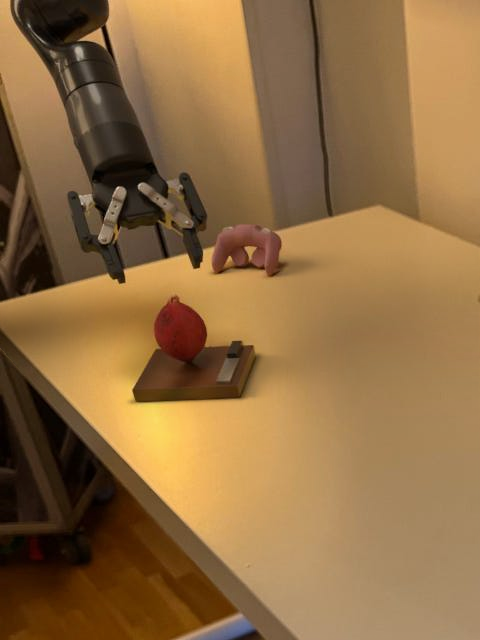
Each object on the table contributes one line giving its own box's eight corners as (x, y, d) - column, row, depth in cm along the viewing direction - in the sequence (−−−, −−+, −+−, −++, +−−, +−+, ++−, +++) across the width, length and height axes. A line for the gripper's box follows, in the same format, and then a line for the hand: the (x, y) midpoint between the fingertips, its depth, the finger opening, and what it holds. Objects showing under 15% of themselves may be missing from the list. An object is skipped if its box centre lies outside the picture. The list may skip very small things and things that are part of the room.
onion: (184, 377, 113) (167, 309, 108) (152, 365, 116) (134, 299, 110) (223, 359, 116) (208, 292, 111) (191, 348, 119) (175, 282, 114)
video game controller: (284, 278, 144) (286, 227, 142) (271, 274, 140) (272, 222, 138) (223, 275, 146) (223, 224, 144) (208, 271, 142) (208, 219, 140)
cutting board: (135, 402, 112) (129, 382, 110) (158, 360, 120) (153, 341, 119) (239, 397, 112) (235, 378, 110) (255, 356, 120) (252, 337, 119)
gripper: (41, 128, 105) (94, 268, 105) (173, 109, 110) (224, 243, 110) (48, 170, 112) (98, 301, 112) (171, 150, 117) (219, 276, 117)
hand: (160, 272), depth 111 cm, fingers open, 8 cm apart
